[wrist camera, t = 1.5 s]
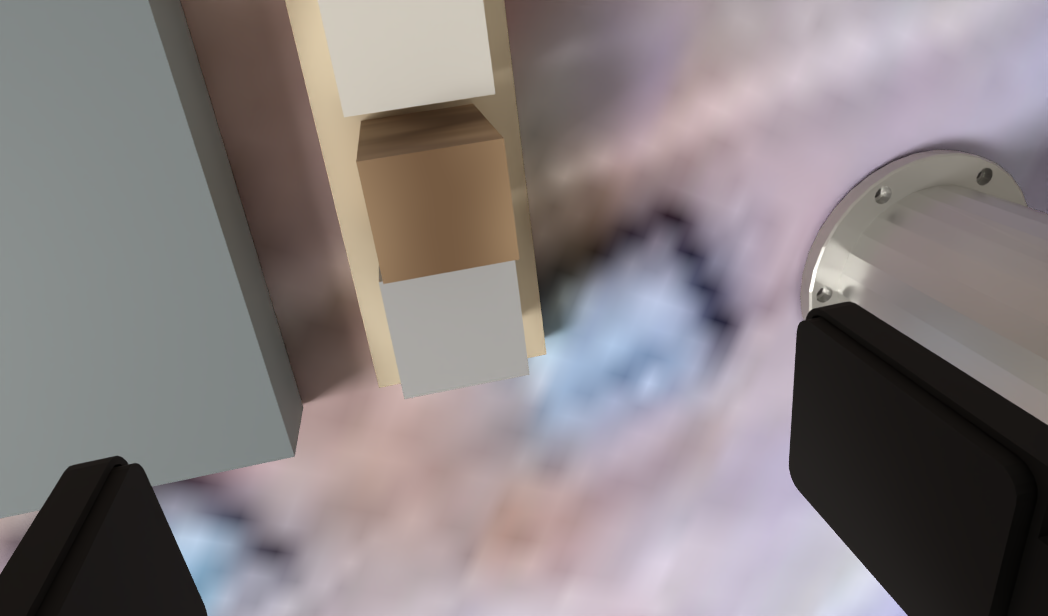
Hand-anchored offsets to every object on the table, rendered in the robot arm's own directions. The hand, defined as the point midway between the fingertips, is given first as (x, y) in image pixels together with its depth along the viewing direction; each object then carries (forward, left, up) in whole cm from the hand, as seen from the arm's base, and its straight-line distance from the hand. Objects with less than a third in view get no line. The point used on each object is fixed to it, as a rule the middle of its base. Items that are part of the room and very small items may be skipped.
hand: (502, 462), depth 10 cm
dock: (+15, 0, -22) cm, 26 cm away
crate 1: (0, -5, -21) cm, 21 cm away
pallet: (0, 0, -23) cm, 23 cm away
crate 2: (0, +6, -21) cm, 21 cm away
